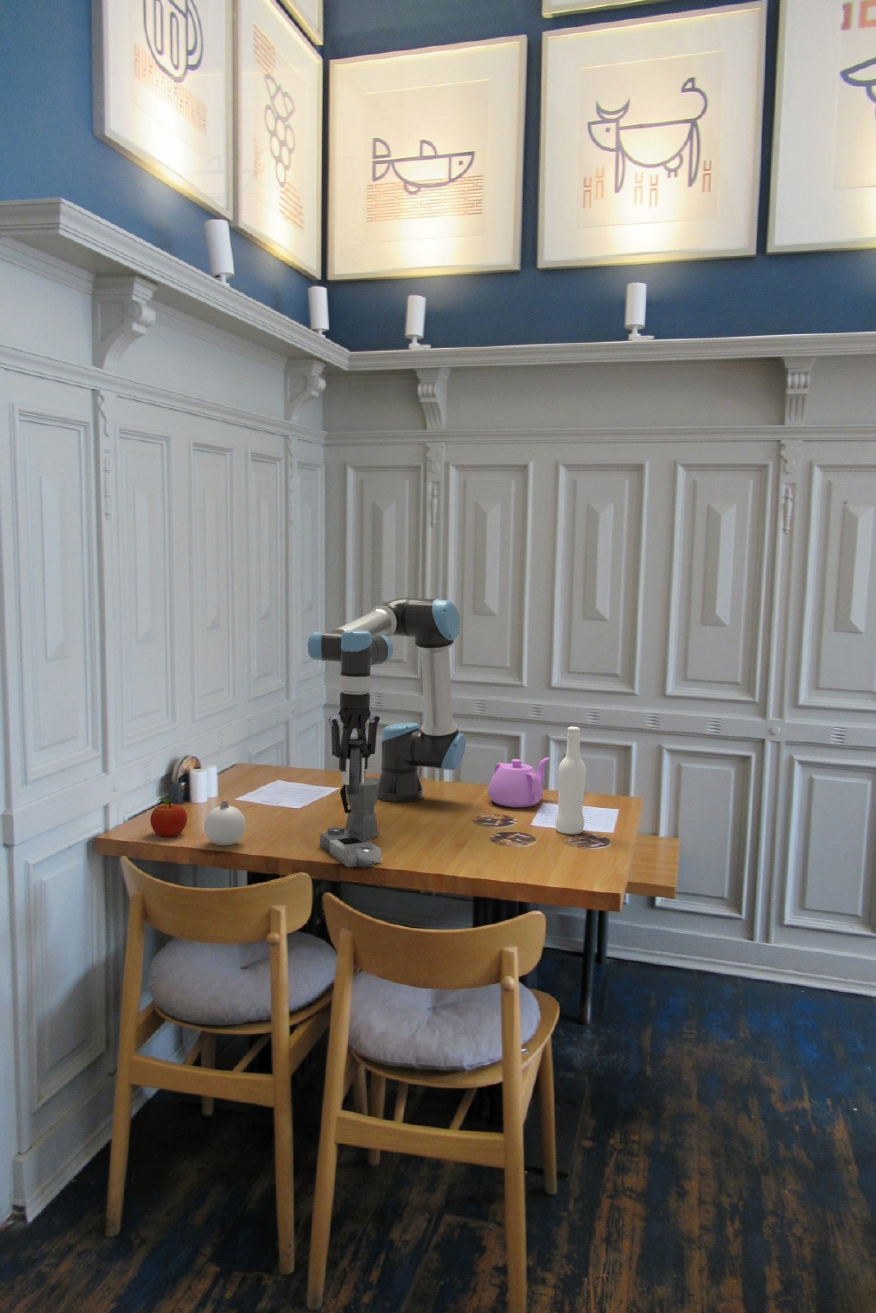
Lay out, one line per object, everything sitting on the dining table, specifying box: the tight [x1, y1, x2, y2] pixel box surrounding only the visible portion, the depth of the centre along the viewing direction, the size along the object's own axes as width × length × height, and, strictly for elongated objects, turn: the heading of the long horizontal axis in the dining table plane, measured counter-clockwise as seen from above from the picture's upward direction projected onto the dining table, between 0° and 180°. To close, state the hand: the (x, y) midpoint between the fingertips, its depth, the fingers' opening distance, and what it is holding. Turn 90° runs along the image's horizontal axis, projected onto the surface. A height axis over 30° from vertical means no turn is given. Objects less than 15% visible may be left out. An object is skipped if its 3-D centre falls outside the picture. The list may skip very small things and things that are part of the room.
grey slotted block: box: [319, 826, 382, 869], centre depth 244 cm, size 9×22×4 cm, turn 30°
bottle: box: [554, 726, 587, 835], centre depth 269 cm, size 8×8×30 cm
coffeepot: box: [339, 771, 380, 840], centre depth 259 cm, size 15×9×18 cm, turn 145°
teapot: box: [487, 756, 551, 809], centre depth 299 cm, size 22×22×14 cm
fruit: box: [149, 797, 188, 838], centre depth 255 cm, size 10×10×10 cm
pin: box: [346, 736, 364, 795], centre depth 242 cm, size 5×5×14 cm
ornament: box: [203, 799, 246, 846], centre depth 249 cm, size 10×10×12 cm
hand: (353, 782), depth 242 cm, fingers closed on pin, 4 cm apart
